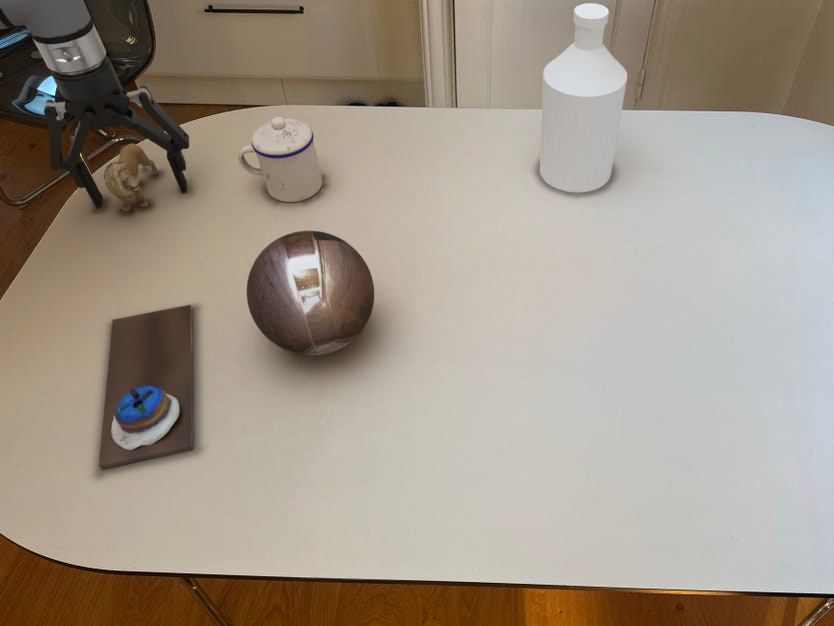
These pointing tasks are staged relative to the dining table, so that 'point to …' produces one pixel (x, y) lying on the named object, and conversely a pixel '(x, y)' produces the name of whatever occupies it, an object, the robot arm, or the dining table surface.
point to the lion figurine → (128, 175)
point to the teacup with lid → (285, 159)
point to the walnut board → (150, 378)
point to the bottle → (581, 107)
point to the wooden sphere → (310, 292)
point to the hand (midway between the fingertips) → (142, 194)
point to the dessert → (143, 417)
